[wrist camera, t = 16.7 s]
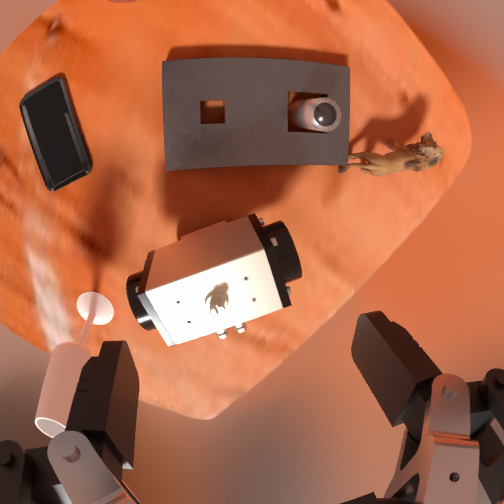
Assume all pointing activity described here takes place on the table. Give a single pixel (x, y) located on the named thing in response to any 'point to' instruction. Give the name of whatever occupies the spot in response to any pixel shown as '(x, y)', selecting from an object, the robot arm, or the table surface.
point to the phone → (55, 134)
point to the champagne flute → (69, 366)
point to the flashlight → (315, 114)
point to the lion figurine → (399, 158)
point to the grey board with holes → (249, 112)
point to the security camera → (215, 279)
